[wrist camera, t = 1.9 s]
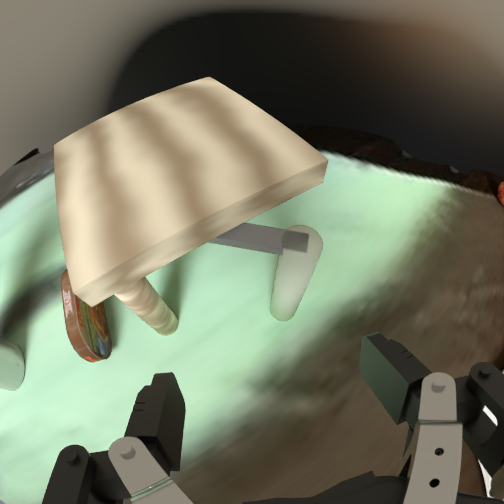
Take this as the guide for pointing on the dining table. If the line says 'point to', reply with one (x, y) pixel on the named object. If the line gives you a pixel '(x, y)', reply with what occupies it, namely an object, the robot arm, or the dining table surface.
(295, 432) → the dining table surface
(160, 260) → the stool
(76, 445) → the robot arm
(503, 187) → the pomegranate
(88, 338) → the tin
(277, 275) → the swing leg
